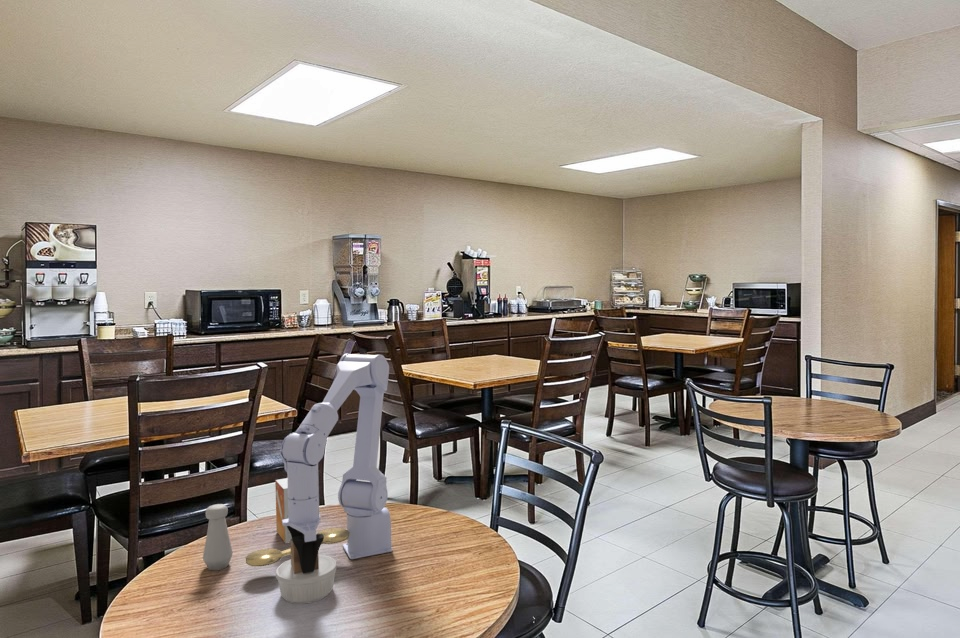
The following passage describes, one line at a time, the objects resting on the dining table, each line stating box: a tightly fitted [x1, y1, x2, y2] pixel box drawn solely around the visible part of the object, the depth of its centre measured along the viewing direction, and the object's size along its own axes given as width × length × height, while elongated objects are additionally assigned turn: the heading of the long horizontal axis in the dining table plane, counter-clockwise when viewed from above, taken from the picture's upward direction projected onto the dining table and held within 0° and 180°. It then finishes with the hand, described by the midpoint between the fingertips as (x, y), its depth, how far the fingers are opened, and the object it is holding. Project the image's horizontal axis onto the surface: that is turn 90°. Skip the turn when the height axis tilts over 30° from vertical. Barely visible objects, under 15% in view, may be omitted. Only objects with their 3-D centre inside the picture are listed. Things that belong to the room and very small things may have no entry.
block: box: [289, 539, 319, 574], centre depth 118 cm, size 4×4×5 cm
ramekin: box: [275, 554, 337, 605], centre depth 118 cm, size 11×11×5 cm
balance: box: [245, 527, 349, 567], centre depth 128 cm, size 21×7×6 cm, turn 115°
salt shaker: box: [202, 503, 233, 571], centre depth 130 cm, size 6×6×13 cm
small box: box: [275, 477, 292, 544], centre depth 146 cm, size 8×6×13 cm
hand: (305, 564), depth 118 cm, fingers open, 6 cm apart
